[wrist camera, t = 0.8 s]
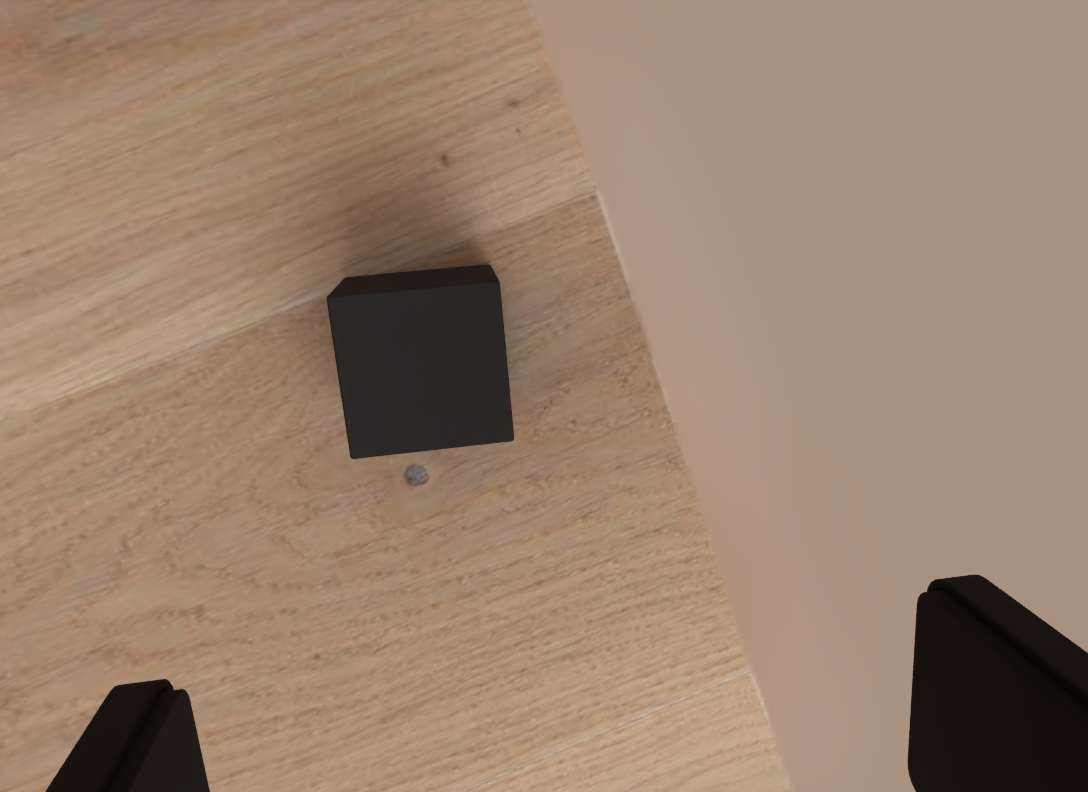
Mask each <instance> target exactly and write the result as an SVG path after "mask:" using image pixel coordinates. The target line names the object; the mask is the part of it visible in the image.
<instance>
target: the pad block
mask: <svg viewBox="0 0 1088 792" xmlns="http://www.w3.org/2000/svg"><path fill="white" fill-rule="evenodd" d="M327 305H328V311H329V318H330V325H331V331H332V338H333V344H334V351H335V358H336V364H337V371H338V378H339V384H340V391H341V398H342V404H343V411H344V417H345V424H346V431H347V437H348V444H349V451H350V457H351V458H352V459H358V458H367V457H375V456H384V455H393V454H402V453H411V452H420V451H429V450H438V449H447V448H455V447H464V446H473V445H482V444H491V443H500V442H509V441H513V440H514V432H513V421H512V410H511V399H510V388H509V377H508V366H507V355H506V345H505V334H504V323H503V312H502V301H501V290H500V282H499V280H498V278H497V276H496V275H495V273H494V271H493V269H492V267H491V265H489V264H488V265H477V266H467V267H456V268H445V269H434V270H423V271H412V272H401V273H390V274H379V275H368V276H357V277H346V278H344V279H343V280H342V281H341V282H340V284H339V285H338V286H337V287H336V288H335V289H334V290H333V291H332V292H331V293H330V294H329V295H328V296H327Z"/></svg>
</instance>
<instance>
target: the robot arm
mask: <svg viewBox="0 0 1088 792" xmlns="http://www.w3.org/2000/svg"><path fill="white" fill-rule="evenodd" d="M908 770H909V775H910V779H911V782H912V784H913V786H914V789H915V791H916V792H1088V653H1087V652H1086V651H1084V650H1083V649H1081V648H1080V647H1079V646H1077V645H1076V644H1075V643H1073V642H1072V641H1070V640H1069V639H1068V638H1066V637H1065V636H1063V635H1062V634H1061V633H1060V632H1058V631H1057V630H1055V629H1054V628H1053V627H1051V626H1050V625H1049V624H1047V623H1046V622H1045V621H1043V620H1042V619H1040V618H1039V617H1038V616H1036V615H1035V614H1034V613H1032V612H1031V611H1030V610H1028V609H1027V608H1025V607H1024V606H1023V605H1021V604H1020V603H1019V602H1017V601H1016V600H1014V599H1013V598H1012V597H1010V596H1009V595H1008V594H1006V593H1005V592H1004V591H1002V590H1001V589H999V588H998V587H997V586H995V585H994V584H992V583H991V582H990V581H989V580H987V579H986V578H984V577H982V576H980V575H968V576H960V577H952V578H945V579H937V580H934V581H932V582H931V583H930V585H929V587H928V590H927V592H924V593H922V594H920V596H919V598H918V602H917V613H916V630H915V647H914V663H913V682H912V698H911V714H910V731H909V749H908ZM46 792H210V791H209V786H208V781H207V777H206V772H205V767H204V763H203V758H202V753H201V749H200V744H199V739H198V735H197V730H196V726H195V721H194V716H193V712H192V707H191V702H190V699H189V695H188V693H187V692H186V690H184V689H180V690H174V689H173V686H172V685H171V683H170V681H168V680H166V679H162V680H154V681H146V682H138V683H131V684H123V685H118V686H115V687H114V688H113V689H112V690H111V691H110V692H109V694H108V695H107V697H106V699H105V700H104V702H103V703H102V705H101V706H100V708H99V709H98V711H97V713H96V714H95V716H94V717H93V719H92V720H91V722H90V723H89V725H88V726H87V728H86V730H85V731H84V733H83V734H82V736H81V737H80V739H79V740H78V742H77V744H76V745H75V747H74V748H73V750H72V751H71V753H70V754H69V756H68V758H67V759H66V761H65V762H64V764H63V765H62V767H61V768H60V770H59V771H58V773H57V775H56V776H55V778H54V779H53V781H52V782H51V784H50V785H49V787H48V789H47V790H46Z"/></svg>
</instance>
